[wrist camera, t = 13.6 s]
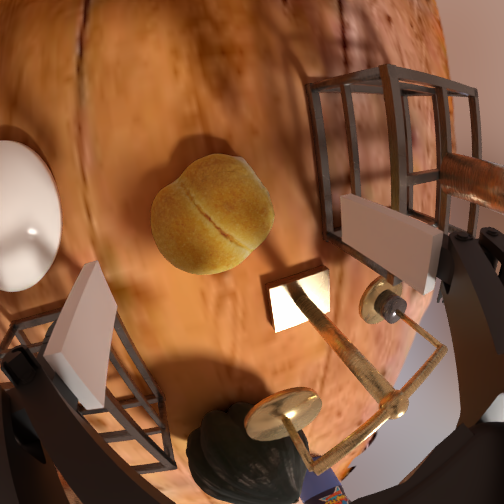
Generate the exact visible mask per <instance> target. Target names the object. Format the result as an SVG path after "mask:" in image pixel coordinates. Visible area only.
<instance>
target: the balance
mask: <svg viewBox="0 0 504 504" xmlns="http://www.w3.org/2000/svg"><path fill="white" fill-rule="evenodd" d="M265 285H266V291H267V297H268V303H269V310H270V316H271V322H272V327H273V328H274V330H275V331H276V332H278V331H281V330H283V329H286V328H289V327H291V326H294V325H297V324H299V323H302V322H305V321H307V320H308V321H309V322H310V323H311V324H312V325H313V326H314V328H315V329H316V330H317V331H318V332H319V334H320V335H321V336H322V337H323V338H324V340H325V341H326V342H327V343H328V344H329V346H330V347H331V348H332V349H333V350H334V351H335V353H336V354H337V355H338V356H339V357H340V359H341V360H342V361H343V362H344V363H345V365H346V366H347V367H348V368H349V369H350V370H351V372H352V373H353V374H354V375H355V376H356V378H357V379H358V380H359V381H360V382H361V384H362V385H363V386H364V387H365V388H366V390H367V391H368V392H369V393H370V394H371V395H372V397H373V398H374V399H375V400H376V401H377V403H378V404H379V411H377V412H376V413H375V414H374V415H373V416H372V417H371V418H370V419H368V420H367V421H366V422H365V423H364V424H363V425H361V426H360V427H359V428H358V429H357V430H355V431H354V432H353V433H352V434H351V435H349V436H348V437H347V438H345V439H344V440H343V441H342V442H340V443H339V444H338V445H336V446H335V447H334V448H332V449H331V450H330V451H328V452H327V453H325V454H324V455H323V456H321V457H320V458H318V459H317V460H315V461H313V459H312V457H311V456H310V454H309V452H308V450H307V449H306V447H305V445H304V443H303V442H302V440H301V438H300V436H299V434H298V433H297V432H298V431H299V430H301V429H303V428H304V427H305V426H307V425H308V424H309V423H311V422H312V421H313V420H314V419H315V418H316V416H317V415H318V414H319V412H320V410H321V407H322V401H321V399H320V397H319V396H318V394H317V393H316V392H315V391H314V390H313V389H311V388H307V387H296V388H290V389H286V390H283V391H280V392H277V393H275V394H273V395H271V396H268V397H267V398H265V399H263V400H262V401H260V402H259V403H257V404H256V405H255V406H254V407H253V408H252V409H251V410H250V411H249V412H248V413H247V415H246V417H245V419H244V426H245V429H246V431H247V434H248V435H249V436H250V437H251V438H252V439H255V440H259V441H270V440H276V439H280V438H284V437H287V436H290V437H291V439H292V441H293V443H294V445H295V447H296V449H297V451H298V452H299V454H300V456H301V458H302V460H303V461H304V463H305V465H306V467H307V469H308V470H309V472H312V471H313V472H314V473H315V474H316V475H317V476H319V475H320V474H322V473H323V472H324V471H326V470H327V469H329V468H330V467H331V466H333V465H334V464H336V463H337V462H338V461H340V460H341V459H342V458H343V457H345V456H346V455H347V454H349V453H350V452H351V451H352V450H354V449H355V448H356V447H357V446H358V445H360V444H361V443H362V442H363V441H364V440H366V439H367V438H368V437H369V436H370V435H371V434H372V433H374V432H375V431H376V430H377V429H378V428H379V427H380V426H381V425H382V424H383V423H384V422H385V421H386V420H388V419H397V418H399V417H401V416H402V415H403V414H404V413H405V412H406V410H407V408H408V405H409V400H408V398H409V397H410V396H411V395H412V394H413V393H414V392H415V391H416V390H417V388H418V387H419V386H420V385H421V384H422V383H423V382H424V380H425V379H426V378H427V377H428V376H429V374H430V373H431V372H432V371H433V370H434V368H435V367H436V366H437V364H438V363H439V362H440V361H441V359H442V358H443V357H444V356H445V354H446V353H447V351H448V349H447V347H446V346H445V345H443V344H441V343H440V342H439V341H438V340H436V339H435V338H434V337H433V336H432V335H430V334H429V333H428V332H426V331H425V330H424V329H423V328H422V327H420V326H419V325H418V324H417V323H415V322H414V321H413V320H412V319H410V318H409V317H408V316H407V315H405V314H404V312H405V310H406V307H407V303H406V301H405V300H404V299H402V298H401V294H402V283H400V284H398V285H395V286H392V285H391V284H389V283H388V282H387V279H386V278H384V277H383V276H379V277H377V278H376V279H375V280H374V281H372V282H371V283H370V285H369V286H368V287H367V288H366V290H365V291H364V293H363V295H362V297H361V300H360V303H359V314H360V316H361V318H362V319H363V320H364V321H365V322H367V323H369V324H376V323H379V322H381V321H383V320H384V319H385V320H386V321H387V322H389V323H390V324H392V323H395V322H397V321H398V320H399V319H400V318H401V319H402V320H403V321H405V322H406V323H407V324H408V325H409V326H411V327H412V328H413V329H414V330H416V331H417V332H418V333H419V334H421V335H422V336H423V337H424V338H425V339H426V340H428V341H429V342H430V343H431V344H432V345H434V346H435V347H436V348H437V349H436V350H435V351H434V353H433V354H432V355H431V356H430V358H429V359H428V360H427V361H426V362H425V363H424V364H423V366H422V367H421V368H420V369H419V370H418V371H417V372H416V373H415V375H414V376H413V377H412V378H411V379H410V380H409V381H408V382H407V383H406V384H405V385H404V386H403V387H402V388H401V389H400V390H395V389H394V388H393V387H392V386H391V385H390V383H389V382H388V381H387V380H386V379H385V378H384V377H383V376H382V375H381V374H380V373H379V372H378V371H377V369H376V368H375V367H374V366H373V365H372V364H371V363H370V362H369V361H368V360H367V359H366V358H365V357H364V356H363V354H362V353H361V352H360V351H359V350H358V349H357V348H356V347H355V346H354V345H353V344H352V343H351V342H350V341H349V339H348V338H347V337H346V336H345V335H344V334H343V333H342V332H341V331H340V330H339V329H338V328H337V327H336V326H335V325H334V324H333V322H332V321H331V320H330V319H329V318H328V317H327V316H326V315H325V313H327V312H330V283H329V269H328V268H327V267H326V266H324V265H322V266H319V267H316V268H313V269H310V270H307V271H304V272H301V273H298V274H295V275H292V276H289V277H286V278H283V279H280V280H277V281H274V282H271V283H268V284H265Z"/></svg>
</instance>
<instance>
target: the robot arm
mask: <svg viewBox="0 0 504 504" xmlns="http://www.w3.org/2000/svg"><path fill="white" fill-rule="evenodd" d="M340 201H341V223H342V241H343V242H344V243H346V244H348V245H349V246H351V247H352V248H354V249H355V250H357V251H359V252H360V253H362V254H363V255H365V256H366V257H368V258H369V259H371V260H372V261H374V262H375V263H377V264H378V265H380V266H381V267H383V268H384V269H386V270H387V271H389V272H390V273H392V274H393V275H395V276H396V277H398V278H399V279H401V280H402V281H404V282H405V283H406V284H408V285H409V286H411V287H412V288H414V289H415V290H416V291H418V292H419V293H421V294H422V295H425V294H427V293H429V292H430V291H432V290H434V286H435V282H436V277H438V278H439V279H441V280H442V281H441V285H440V290H439V294H438V298H437V303H439V301H440V299H441V298H442V297H443V301H442V303H444V305H445V309H446V313H447V317H448V322H449V326H450V331H451V336H452V342H453V347H454V353H455V360H456V366H457V374H458V383H459V393H460V405H461V413H460V418H459V421H458V423H457V426H456V429H455V430H454V431H453V432H452V433H451V434H450V435H449V436H448V437H447V438H446V439H444V440H443V441H442V442H441V443H440V444H439V445H437V446H436V447H435V448H434V449H433V450H432V451H431V452H430V453H429V454H428V456H427V457H426V458H425V459H424V460H423V461H422V462H421V463H420V464H419V465H418V466H417V467H416V468H415V469H414V470H413V471H411V472H410V473H409V474H408V475H407V476H406V477H405V478H404V479H403V480H402V481H401V482H400V483H399V484H398V485H396V486H394V487H391V488H388V489H386V490H383V491H380V492H377V493H374V494H371V495H368V496H365V497H361V498H358V499H356V500H354V501H353V502H351V503H349V504H504V234H502V233H501V232H500V231H498V230H496V229H495V228H491V227H488V228H487V227H485V228H482V229H481V230H480V237H479V239H475V238H474V237H473V236H472V235H470V234H467V233H465V232H452V233H450V235H449V236H448V235H446V234H444V233H443V231H441V230H439V229H437V228H434V227H432V226H430V225H428V224H426V223H423V222H421V221H419V220H416V219H414V218H412V217H409V216H407V215H405V214H402V213H400V212H397V211H395V210H393V209H390V208H388V207H385V206H383V205H380V204H377V203H375V202H372V201H370V200H367V199H364V198H362V197H359V196H356V195H353V194H347V195H342V196H340ZM498 261H500V263H501V268H500V272H499V275H497V274H496V272H495V270H496V267H497V263H498ZM116 311H117V305H116V302H115V300H114V298H113V296H112V294H111V291H110V289H109V287H108V285H107V282H106V280H105V278H104V275H103V273H102V270H101V268H100V265H99V263H98V260H96V261H93V262H90V263H87V264H84V266H83V268H82V270H81V272H80V274H79V276H78V278H77V279H76V281H75V283H74V285H73V287H72V289H71V292H70V294H69V296H68V298H67V300H66V302H65V304H64V306H63V309H62V311H61V313H60V315H59V318H58V319H57V320H55V321H54V322H53V323H52V325H51V326H50V327H49V328H48V331H47V333H46V335H45V338H44V340H43V343H42V344H43V345H41V348H40V350H39V353H38V355H37V358H35V357H34V356H33V354H32V353H31V351H30V350H29V348H28V347H27V346H26V345H19V346H16V347H14V348H12V349H11V350H10V351H9V352H8V353H7V354H6V355H5V356H4V358H3V359H2V362H1V370H2V371H3V372H4V374H5V375H6V376H7V377H8V379H9V380H10V381H11V382H12V384H13V385H14V386H15V387H13V388H11V389H9V390H7V391H5V390H4V389H3V388H2V387H1V385H0V504H70V503H69V500H68V498H67V496H66V494H65V491H64V489H63V486H62V484H61V482H60V479H59V476H58V474H57V471H56V468H55V466H56V467H57V469H58V470H59V472H60V473H61V475H62V476H63V478H64V479H65V481H66V482H67V483H68V485H69V486H70V488H71V489H72V490H73V492H74V493H75V494H76V496H77V497H78V498H79V499H80V501H81V502H82V503H83V504H176V503H175V502H173V501H172V500H170V499H169V498H168V497H166V496H165V495H164V494H163V493H161V492H160V491H159V490H158V489H156V488H155V487H154V486H153V485H151V484H150V483H149V482H148V481H147V480H145V479H144V478H143V477H142V476H141V475H140V474H139V473H137V472H136V471H135V470H134V469H133V468H132V467H131V466H130V465H129V464H128V463H127V462H125V461H124V460H123V459H122V458H121V457H120V456H119V455H118V454H117V453H116V452H115V451H114V450H113V449H112V448H111V447H110V446H109V444H108V443H107V442H106V441H105V440H104V439H103V438H102V437H101V436H100V435H99V434H98V433H97V431H96V430H95V429H94V428H93V427H92V426H91V425H90V423H89V422H88V421H87V420H86V419H85V417H84V416H83V415H82V414H81V413H80V412H79V411H78V410H77V404H78V401H79V402H80V403H81V404H82V405H83V406H84V407H85V408H86V410H90V409H98V408H104V401H105V389H106V379H107V370H108V361H109V354H110V346H111V340H112V333H113V327H114V322H115V316H116ZM53 462H54V463H53ZM54 464H55V465H54Z"/></svg>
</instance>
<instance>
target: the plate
mask: <svg viewBox="0 0 504 504" xmlns="http://www.w3.org/2000/svg"><path fill="white" fill-rule="evenodd" d="M62 227H63V215H62V205H61V199H60V195H59V191H58V188H57V185H56V182H55V180H54V178H53V175H52V173H51V171H50V170H49V168H48V166H47V165H46V163H45V162H44V161H43V159H42V158H41V157H40V156H39V155H38V154H37V153H36V152H35V151H34V150H32V149H31V148H30V147H28V146H26V145H24V144H22V143H20V142H16V141H8V140H4V141H0V290H2V291H8V292H17V291H22V290H25V289H28V288H30V287H32V286H33V285H35V284H36V283H37V282H38V281H39V280H40V279H42V277H43V276H44V275H45V274H46V272H47V271H48V270H49V268H50V267H51V265H52V263H53V262H54V260H55V257H56V255H57V253H58V250H59V246H60V243H61V237H62Z"/></svg>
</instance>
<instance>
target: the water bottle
mask: <svg viewBox="0 0 504 504" xmlns="http://www.w3.org/2000/svg"><path fill="white" fill-rule="evenodd" d="M320 457H321V456H318V457H314V458H312V459H313V461H315V460H317V459H318V458H320ZM300 498H301V500H302V502H303V503H304V504H349V503H351V501H350V500H349V499H348V498H347V496H346V495H345V493H344V490H343V488H342V485H341V483H340V482H339V480H338V479H337V477H336V475H335V474H334V472H333V470H332V469H331V467H330V468H329V469H327V470H326V471H324V472H323V473H322V474H320V475H319V476H317V475H316V474H315V473H314V472H313V471H312V472H309V470H308V469H307V472H306V475H305V478H304V481H303V485H302V492H301V495H300Z"/></svg>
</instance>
